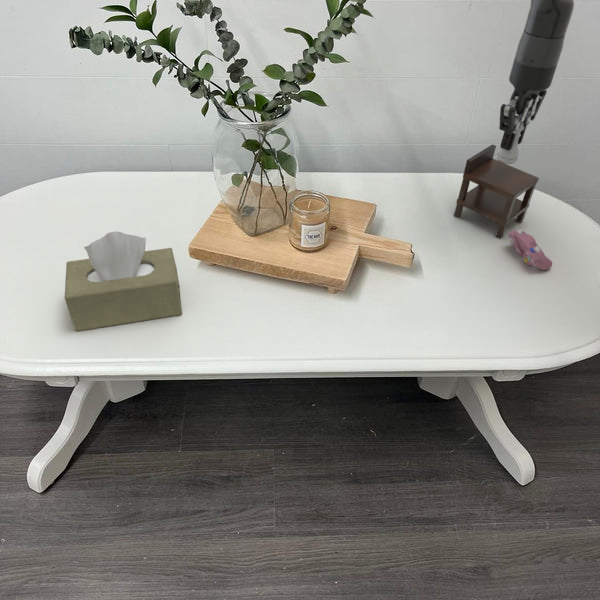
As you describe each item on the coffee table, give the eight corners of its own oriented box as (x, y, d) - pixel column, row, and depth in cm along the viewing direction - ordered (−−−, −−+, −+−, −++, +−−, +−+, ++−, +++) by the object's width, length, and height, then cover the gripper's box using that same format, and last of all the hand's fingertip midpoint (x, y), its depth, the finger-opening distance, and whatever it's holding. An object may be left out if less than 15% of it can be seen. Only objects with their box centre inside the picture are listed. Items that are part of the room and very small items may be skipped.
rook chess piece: (490, 155, 118) (500, 119, 113) (508, 152, 119) (519, 115, 114) (503, 166, 115) (514, 128, 110) (521, 162, 116) (533, 125, 111)
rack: (523, 221, 127) (543, 164, 118) (500, 239, 122) (519, 182, 112) (477, 199, 133) (492, 144, 124) (452, 216, 128) (466, 159, 118)
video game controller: (507, 250, 121) (502, 229, 116) (526, 239, 121) (522, 217, 116) (534, 280, 115) (530, 258, 110) (555, 268, 114) (551, 246, 109)
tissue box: (178, 280, 109) (167, 210, 99) (184, 314, 103) (173, 244, 92) (75, 295, 106) (52, 224, 95) (74, 332, 99) (49, 260, 88)
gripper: (536, 74, 98) (509, 164, 110) (573, 54, 105) (544, 141, 117) (498, 61, 102) (475, 150, 113) (536, 43, 109) (511, 128, 121)
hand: (510, 145), depth 115 cm, fingers closed on rook chess piece, 3 cm apart
